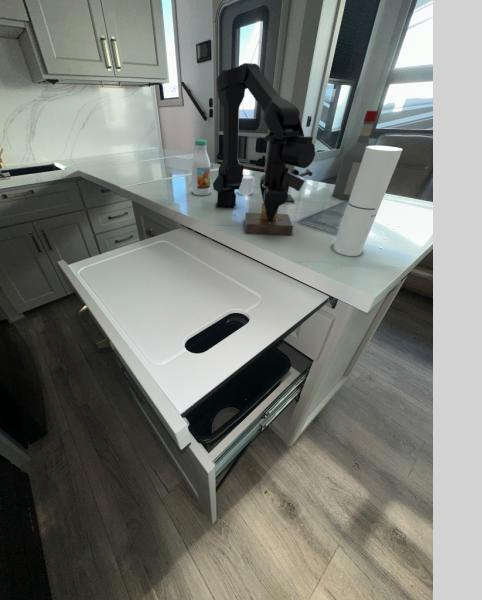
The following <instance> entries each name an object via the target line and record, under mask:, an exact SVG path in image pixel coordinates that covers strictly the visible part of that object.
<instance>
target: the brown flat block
mask: <svg viewBox="0 0 482 600" xmlns="http://www.w3.org/2000/svg"><path fill="white" fill-rule="evenodd" d="M260 215H261V212H245V215H244V231H245V234H253V235H254V234H256V235H275V236H276V235H277V236H279V235H280V236H292V233H293V229H294V225H293V223H292V220H291V218H290V215H289V214H288V213H278V214H277V219H276V220H272V222H268V219H260Z"/></svg>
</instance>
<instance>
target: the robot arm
mask: <svg viewBox="0 0 482 600" xmlns="http://www.w3.org/2000/svg"><path fill="white" fill-rule="evenodd" d="M217 76H218V77H217V78H216V87H217V99H218V100H219V102H220V104H221V107H222V129H223V130H222V161H221V163H220V165H219V166H218V173H217V177H216V178H215V180H214V181H213V183H212V188H213V190H214V191H215V192H217V204H216V208H218V209H234V208H235V207H236V201H237V192H236V190H238V189H239V188H240V185H241V182H242V178H243V175H244V164H241V163H240V161H239V158H238V156H239V125H240V123H239V120H240V107H241V104H242V102H243V100H244V98H245V95H246V89H247V90H248V91H249V92H250V95H251V96H252V97H253V98H254V100H255V101H256V102H257V104H258V105H259V106H260V108H261V110H262V111H263V120H264V123H265V125H266V127H267V129H268V131H269V132H268V134H267V135H265V136H264V137H263V141H264V142H268V147H267V154H266V160H265V161H266V162H265V163H264V169H265V171H264V174H263V175H262V176H260V178H259V189H260V193H261V198H262V203H264V205H265V209H266V214H267V218H268V222H272V220H273V218H274V216H275V214H276V211H277V209H278V210H279V208H280V207H281V206H282V205H285V204H286V203H288V202H287V200H288V195H289V192H288V193H287V191H286V190H285V189H284V188H280V187H286V185H287V186H289V188H292V189H294V190H295V191H296V192H300V191H301V189H302V187H303V185H304V183H305V182H306V180H305V178H304V176H303V177H301V176H299V174H300V171H299V170H298V169H296V168H292V169H291V170H289V167H288V166H291V167H292V166H293V167H297V168H300V169H306V168H309V166H311V164H312V163H313V161H314V160H315V158H316V157H315V156H316V148H315V145H314V143H313V138H314V137H313V136H309V135H308V136H305V133H304V129H303V125H302V123H301V119H300V115H301V114H300V110H299V108H298V107H297V106H296V105H295V104H294V103H292V102H291V101H289V100H288V99H285V98H283V97H281V96H280V95H279V94H278V92H277V91H276V90H275V88H274V87H273V85H272V84H271V83H270V82H269V80H268V79H267V77H266V76H265V74H263V72H262V71H261V68H260V66H259V65H258V64H257V63H250V62H244V63H242V64H240V65H239V66H236V67H232V68H230V69H223V70H222V71H220V73H219V75H217ZM278 207H279V208H278Z"/></svg>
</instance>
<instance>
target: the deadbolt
mask: <svg viewBox="0 0 482 600" xmlns="http://www.w3.org/2000/svg"><path fill="white" fill-rule="evenodd" d="M279 208H280V206H279V207H278V209H277V211H276V214H275V216H274V218H273V220H276V219H277V214H279V213H278V212H279ZM260 213H261V215H260V219H268V218H267V214H266V209H265V205H264V202H262V203H261V209H260Z"/></svg>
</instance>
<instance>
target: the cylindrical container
mask: <svg viewBox="0 0 482 600" xmlns="http://www.w3.org/2000/svg"><path fill="white" fill-rule="evenodd" d="M402 152H403V148H401V147H396V146H390V145H370V146H367V147H366V150H365V153H364V156H363V159H362V162H361V165H360V168H359V171H358V174H357V177H356V180H355V183H354V186H353V189H352V192H351V195H350V198H349V201H348V202H347V205H346V208H345V211H344V214H343V217H342V219H341V223H340V227H339V229H338V233H337V235H336V238H335V242H334V245H333V251H335V252H336V253H337V254H340V255H343V256H347V257H356V256H360V255H361V254H362V251H363V249H364V247H365V244H366V242H367V239H368V236H369V234H370V231H371V230H372V226H373V224H374V222H375V219H376V217H377V215H378V211H379V209H380V207H381V205H382V203H383V200H384V198H385V194H386V192H387V189H388V187H389V184H390V182H391V179H392V177H393V175H394V172H395V170H396V168H397V165H398V162H399V160H400V158H401V154H402Z"/></svg>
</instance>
